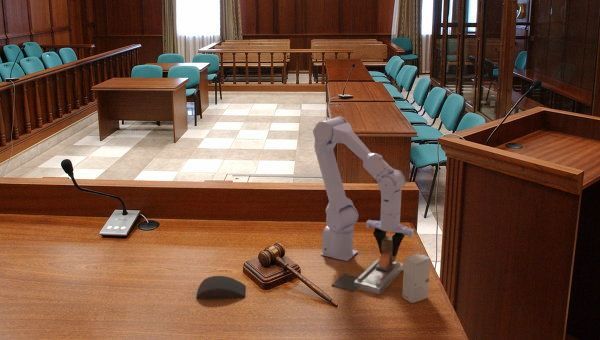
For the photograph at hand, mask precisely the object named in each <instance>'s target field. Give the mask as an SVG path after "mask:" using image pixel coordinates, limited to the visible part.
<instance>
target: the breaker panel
mask: <svg viewBox="0 0 600 340" xmlns="http://www.w3.org/2000/svg"><path fill="white" fill-rule="evenodd" d="M379 258H380V257H378V258H377V259H376V260H375V261H374V262H373V263H372V264H371V265H370V266H369V267H367V268H366V270H364V272H363V273H361V274H360V275H359V276H357V277H358V278H357V279H356V280H355V281H354V287H356V288H357V289H356V290H358V291H359V290H360V291H363V292H365V293H369V294H373V295H378V296H380V295H381V294H382V293H383V292H384V291H385V290H386V289H387V288H388V287H389V285H391V284H392V282H393V281H394V280H395V279H396V278H397V277H398V276H399V275H400V274H401V273H402V272H403V271H404V263H401V261H394V262H393V263H392V264H393V266H392V267H391V268H390V269H389V270H388V271H385V270H381V269H377V268H375V266H376V265H377V264H378V263H379Z"/></svg>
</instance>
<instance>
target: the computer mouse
mask: <svg viewBox="0 0 600 340" xmlns="http://www.w3.org/2000/svg"><path fill="white" fill-rule="evenodd" d="M246 289H247V286H246V284H245V283H242V282H241V281H239V280H237V279H235V278H233V277H229V276H224V275H213V276H208V277H206V278H205V279H203V280H202V281H201V283H200V284H199V286H198V288H197V292H196V296H195V298H196V299H197V300H199V299H200V300H224V299H225V300H226V299H227V300H228V299H243V298H244V299H245V298H246Z"/></svg>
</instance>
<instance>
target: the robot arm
mask: <svg viewBox="0 0 600 340" xmlns="http://www.w3.org/2000/svg"><path fill="white" fill-rule="evenodd" d="M312 133H313V137H314V152H315V155H316V159H317V163H318V165H319V170H320V173H321V178H322V180H323V183H324V188H325V191H326V194H327V197H328V198H327V199H328V204H327V206H326V208H325V214H326V218H325V223H326V226H325V227H324V229H323V231H322V237H321V238H322V240H321V243H322V244H321V250H322V251H321V252H320V255H322V256H325V257H328V258H331V259H332V258H333V259H335V260H340V261H344V262H349V260H351V259H352V258H353V257H354V256H355V255H356V254H357V253H358V250H356V249H354V227H355V224H356V223H357V222H358V221H359V220H358V219H359V213H358V210H357V208H356V207H355V206H354V203H353V200H351V199H350V198H349V197H348V196H346V192H345V188H344V184H343V181H342V177H341V173H340V170H339V166H338V163H337V160H336V155H335V150H334V148H335V147H336V145H337V144H344V145H345V146H346V147H347V148H348V149H349V150H350V151H351V152H352V153H354V154H355V155H356V156H357V157H358V158H359V159H360V160H362V166H363V168H364V169H365V170H366V171H367V172H368V173H369V174H370V175H371V176H372V178H373V179H375V181H376V182H377V187H378V189H379V191H380V197H381V198H380V201H381V203H380V218H379V219H380V220H372V219H368V220H367V221H366V223H365V228H366V229H374V231H373V233H372V235H373V237H374V238H375V240H376V243H377V245H378V249H379V253H380V254H381V247H382V239H383V238H384V237H386V236H387V233H388V232H389V233H393V235H392V236H391V237H392V241H393V252H392V254H393V256H394V257H395V256H396V257H397V255H398V253H399V250H400V249H399V248H400V245H401V244H402V242H403V240H404V238H405V236H408V238H413V237H414V236H415V229H414V228H411V227H408V226H405V225H403V224H401V223H400V222H401V210H402V209H401V208H402V207H401V206H402V189H403V188H404V187H405V185H406V176H405V175H404V173H403V172H402V170H399V169H395V168H393V166H391V165H389V164H388V163H387V162H386V161H385V160H384V157H383V156H382V155H381V154H379V153H377V152H371V151H370V149H369V148H368V147H367V146H366V145H365V143H364V142H363V141H362V140H361V139H360V138H359V137H358V135H357V134H356V133H355V132H354V131H353V128H352V125H351V124H350V123H349V122H348V121H347V120H346V119H345V117H343V116H335V117H332V118H331V119H329V118H328V119H326V120H320V121H319V122H317V123H316V125H315V126H314V128H313V130H312Z"/></svg>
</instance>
